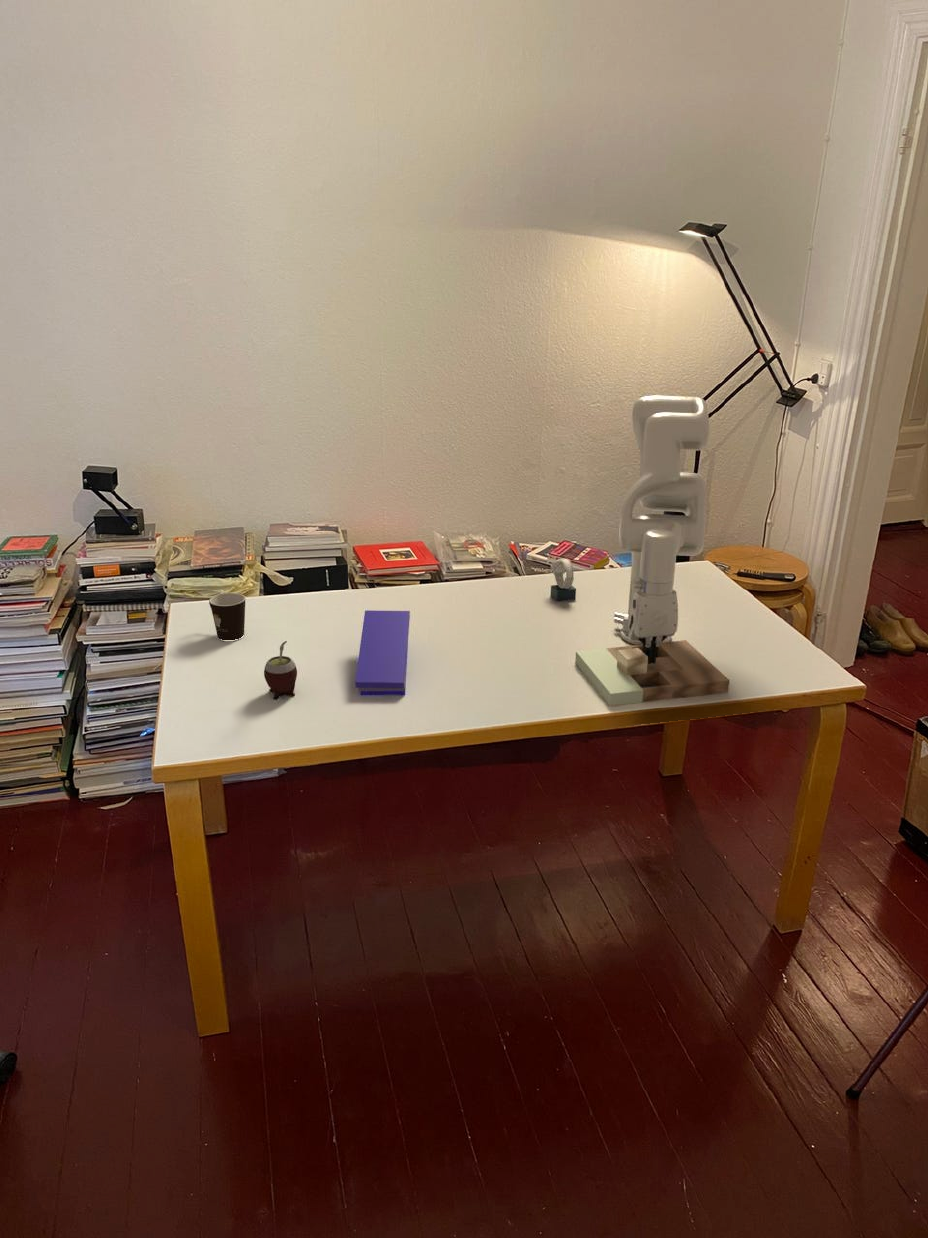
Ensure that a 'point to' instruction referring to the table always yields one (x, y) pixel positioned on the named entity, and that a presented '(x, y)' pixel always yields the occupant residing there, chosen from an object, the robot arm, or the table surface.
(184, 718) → the table surface
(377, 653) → the layered purple block
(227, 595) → the coffee mug
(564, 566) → the white knot sculpture
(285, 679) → the mate gourd
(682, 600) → the table surface
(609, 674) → the pad
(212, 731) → the table surface
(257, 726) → the table surface
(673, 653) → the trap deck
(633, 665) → the maple block
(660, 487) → the robot arm
